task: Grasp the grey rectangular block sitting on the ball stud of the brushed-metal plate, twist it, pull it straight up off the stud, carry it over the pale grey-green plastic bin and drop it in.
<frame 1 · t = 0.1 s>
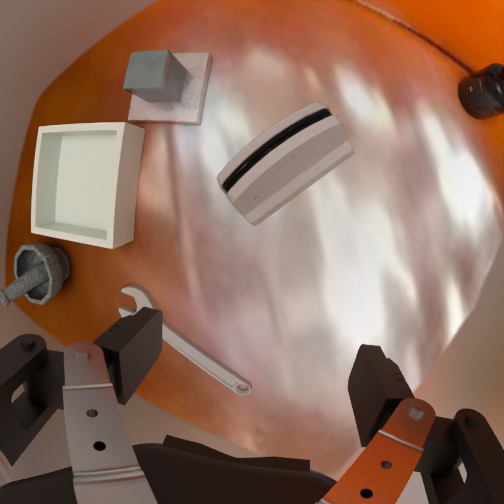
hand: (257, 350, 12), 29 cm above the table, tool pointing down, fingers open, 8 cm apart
supplement bottle: (473, 98, 32), on the table
mortar and pestle: (56, 266, 45), on the table
grey rectangular block: (166, 85, 35), point 2 cm above the table, touching stud plate
adjustable wrench: (183, 344, 46), on the table
bin: (93, 181, 41), on the table
napkin holder: (286, 165, 38), on the table
stud plate: (171, 89, 37), on the table
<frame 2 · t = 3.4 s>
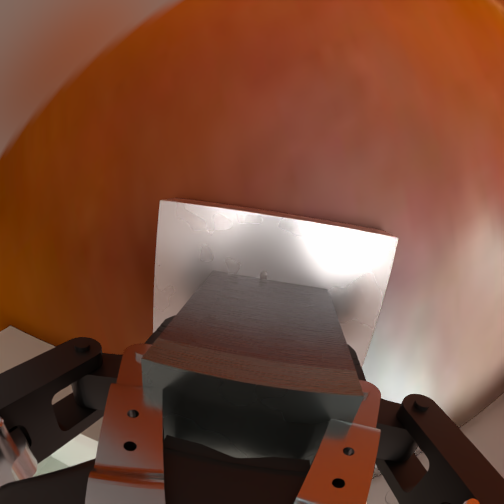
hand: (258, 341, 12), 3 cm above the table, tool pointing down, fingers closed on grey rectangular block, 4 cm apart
grey rectangular block: (261, 331, 13), point 2 cm above the table, touching gripper, stud plate
bin: (100, 435, 19), on the table
napkin holder: (455, 435, 16), on the table
stud plate: (264, 313, 15), on the table
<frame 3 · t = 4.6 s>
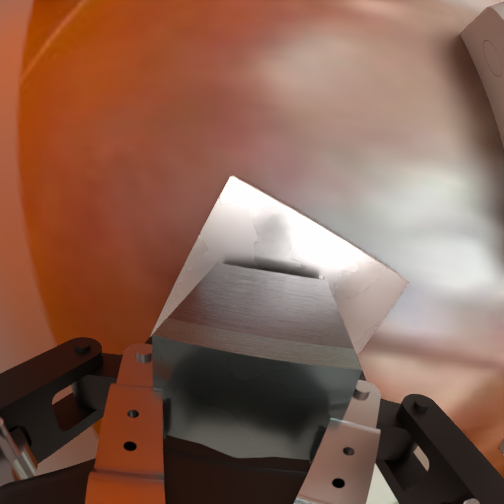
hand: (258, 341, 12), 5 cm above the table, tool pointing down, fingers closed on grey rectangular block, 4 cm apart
grey rectangular block: (263, 322, 14), point 3 cm above the table, touching gripper, stud plate
bin: (347, 478, 19), on the table
stud plate: (273, 303, 17), on the table
when the fingers open (5 cm above the table, at t = 9.9 s): grey rectangular block drops 3 cm, resting on bin.
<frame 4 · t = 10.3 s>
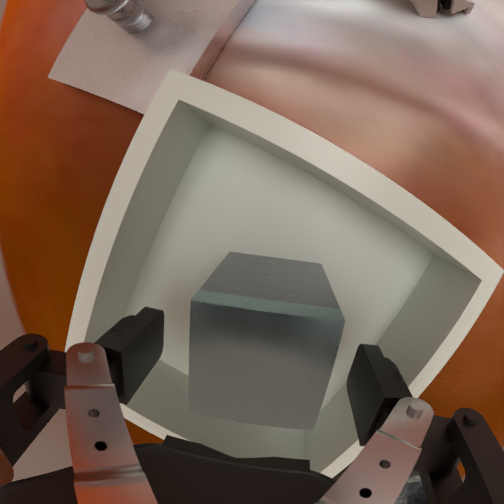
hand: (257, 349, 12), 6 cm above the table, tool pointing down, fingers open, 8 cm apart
mortar and pestle: (376, 450, 20), on the table
grey rectangular block: (269, 300, 17), point 1 cm above the table, touching bin
bin: (266, 295, 18), on the table
stud plate: (151, 34, 15), on the table
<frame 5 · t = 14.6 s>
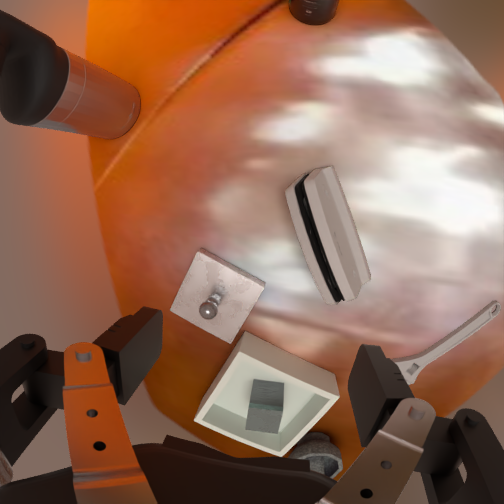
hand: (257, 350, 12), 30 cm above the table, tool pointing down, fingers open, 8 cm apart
supplement bottle: (312, 9, 33), on the table
mortar and pestle: (314, 443, 49), on the table
grey rectangular block: (266, 392, 45), point 1 cm above the table, touching bin
adjustable wrench: (441, 345, 42), on the table
bin: (265, 389, 46), on the table
napkin holder: (327, 231, 41), on the table
stud plate: (217, 294, 44), on the table
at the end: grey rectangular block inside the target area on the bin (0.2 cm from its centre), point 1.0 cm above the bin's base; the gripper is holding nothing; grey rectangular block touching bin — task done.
